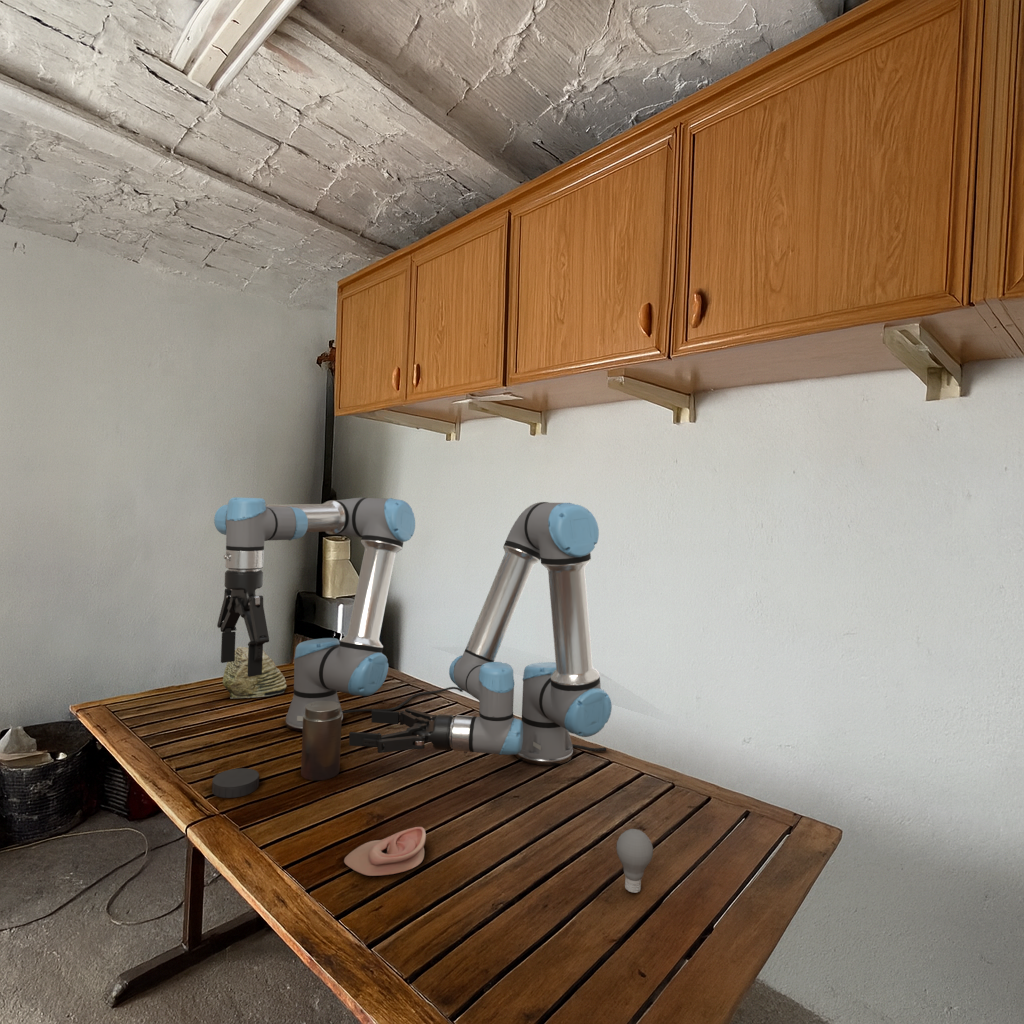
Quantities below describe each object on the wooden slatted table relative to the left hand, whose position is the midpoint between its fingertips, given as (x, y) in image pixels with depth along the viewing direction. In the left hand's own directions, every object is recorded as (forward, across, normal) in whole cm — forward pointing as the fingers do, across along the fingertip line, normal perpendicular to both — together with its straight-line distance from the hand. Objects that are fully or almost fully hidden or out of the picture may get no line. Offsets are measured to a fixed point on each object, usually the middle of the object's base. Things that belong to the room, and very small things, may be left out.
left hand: (240, 668), depth 136 cm
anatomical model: (+26, +44, +8) cm, 51 cm away
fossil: (+26, -58, +30) cm, 70 cm away
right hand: (+14, +13, +22) cm, 29 cm away
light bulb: (+26, +79, +33) cm, 89 cm away
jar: (+26, +5, +17) cm, 31 cm away
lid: (+24, 0, 0) cm, 24 cm away
